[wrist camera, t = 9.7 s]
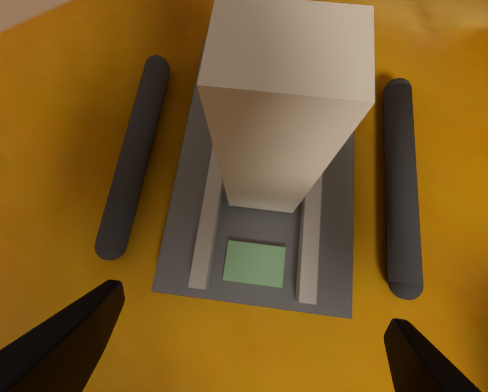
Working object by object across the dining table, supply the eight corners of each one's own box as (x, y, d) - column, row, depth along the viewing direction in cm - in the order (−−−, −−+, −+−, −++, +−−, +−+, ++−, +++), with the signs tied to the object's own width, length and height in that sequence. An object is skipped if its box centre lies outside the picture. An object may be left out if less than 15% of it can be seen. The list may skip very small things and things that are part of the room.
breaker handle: (292, 213, 14) (375, 102, 5) (229, 205, 14) (196, 84, 5) (295, 171, 15) (373, 5, 6) (235, 164, 15) (215, -7, 6)
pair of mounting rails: (412, 300, 14) (431, 303, 13) (100, 259, 15) (84, 257, 14) (402, 90, 18) (416, 73, 17) (152, 66, 19) (144, 48, 18)
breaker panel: (341, 314, 14) (360, 322, 12) (160, 289, 15) (144, 292, 12) (346, 71, 19) (361, 41, 16) (207, 57, 19) (201, 27, 17)
